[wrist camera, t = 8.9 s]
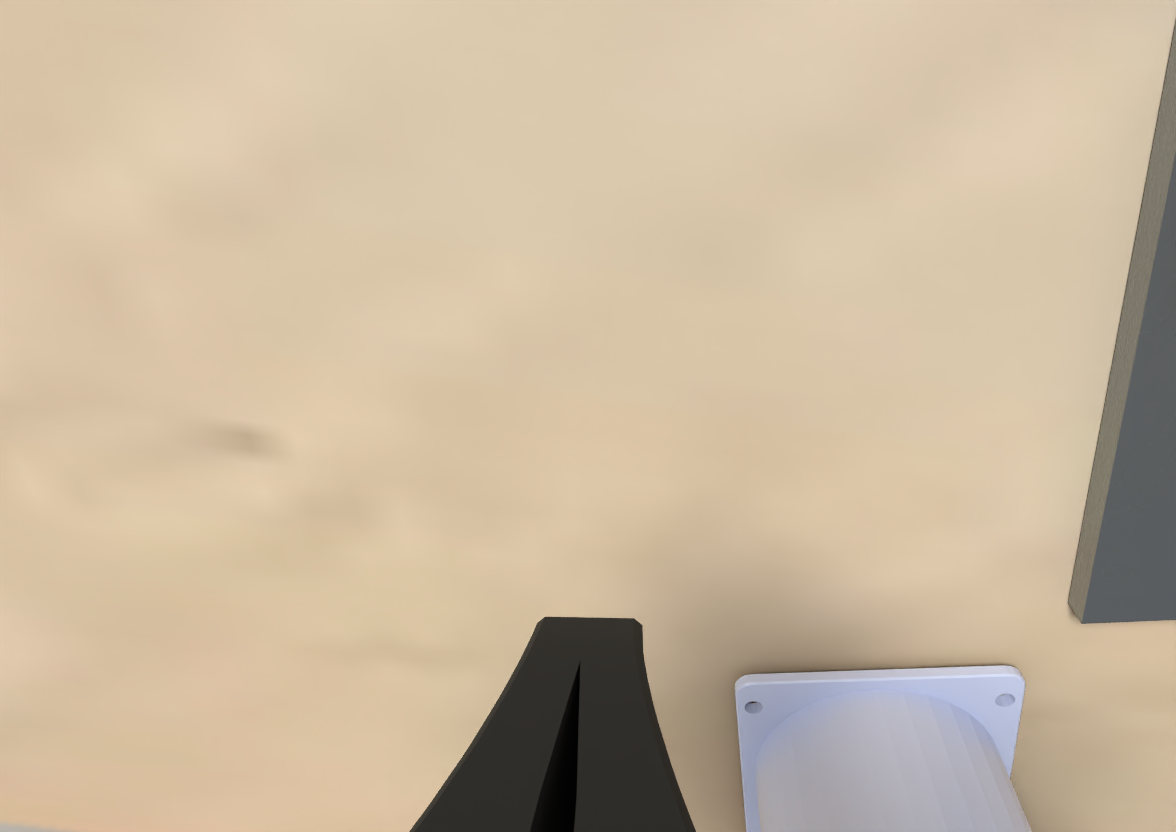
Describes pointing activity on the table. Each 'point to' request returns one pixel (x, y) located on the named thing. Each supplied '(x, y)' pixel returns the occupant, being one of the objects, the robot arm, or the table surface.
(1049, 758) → the table surface
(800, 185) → the table surface
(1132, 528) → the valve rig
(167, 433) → the table surface
